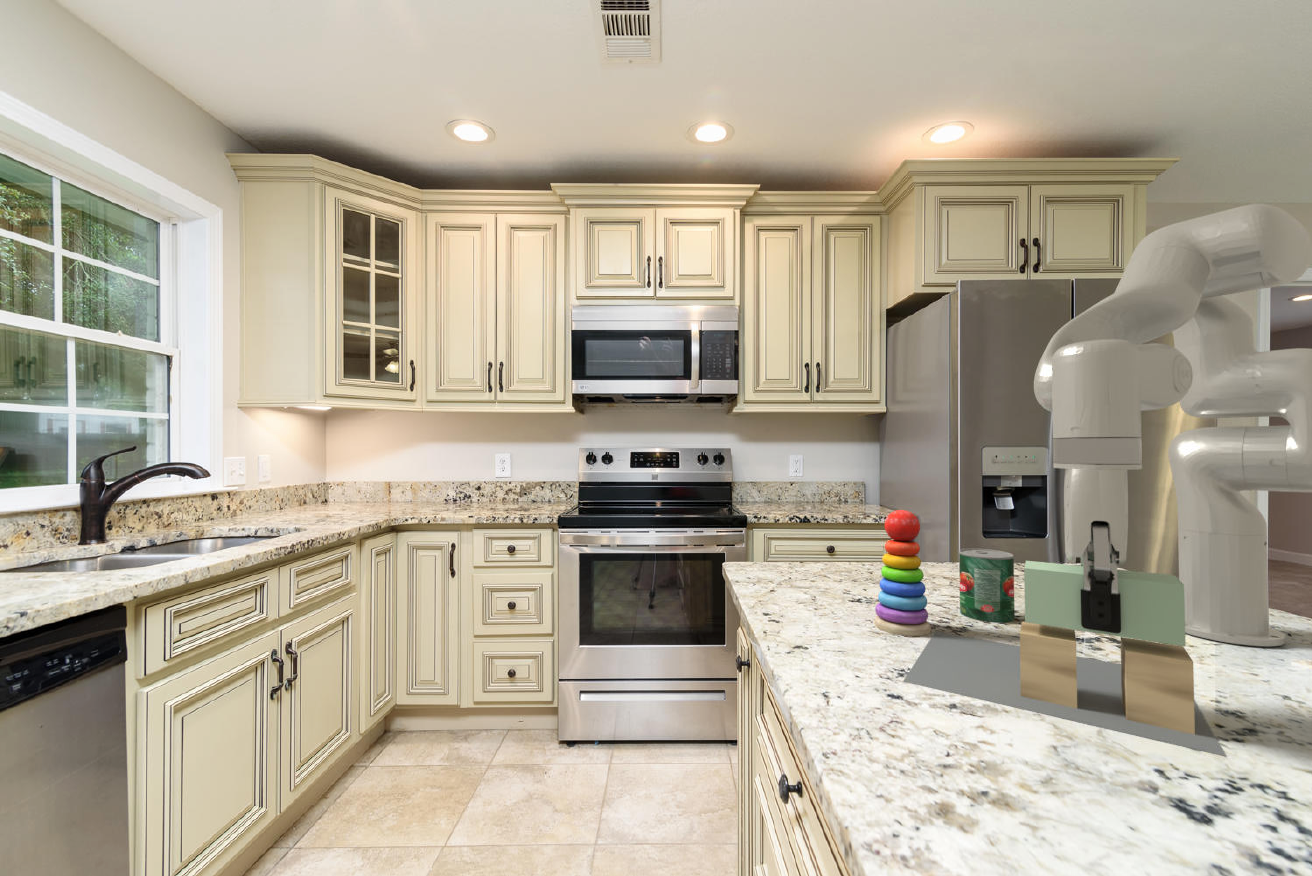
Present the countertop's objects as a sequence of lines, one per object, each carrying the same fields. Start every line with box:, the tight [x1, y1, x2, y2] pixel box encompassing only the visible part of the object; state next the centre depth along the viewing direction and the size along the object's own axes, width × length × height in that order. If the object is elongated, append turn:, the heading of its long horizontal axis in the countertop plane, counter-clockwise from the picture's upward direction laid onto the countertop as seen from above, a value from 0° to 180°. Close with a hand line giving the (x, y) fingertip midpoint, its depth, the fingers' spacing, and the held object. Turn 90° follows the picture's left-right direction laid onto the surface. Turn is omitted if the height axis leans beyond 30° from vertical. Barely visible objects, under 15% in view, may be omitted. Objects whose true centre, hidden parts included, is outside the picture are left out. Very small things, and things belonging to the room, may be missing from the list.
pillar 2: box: [1120, 637, 1195, 735], centre depth 56 cm, size 5×5×7 cm
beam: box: [1023, 560, 1186, 648], centre depth 59 cm, size 5×13×6 cm, turn 54°
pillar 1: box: [1019, 621, 1077, 708], centre depth 62 cm, size 5×5×7 cm
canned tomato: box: [958, 548, 1016, 624], centre depth 91 cm, size 8×8×11 cm
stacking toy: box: [873, 509, 932, 637], centre depth 85 cm, size 8×8×19 cm
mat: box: [903, 631, 1227, 758], centre depth 66 cm, size 22×27×1 cm
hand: (1098, 621), depth 59 cm, fingers closed on beam, 4 cm apart
